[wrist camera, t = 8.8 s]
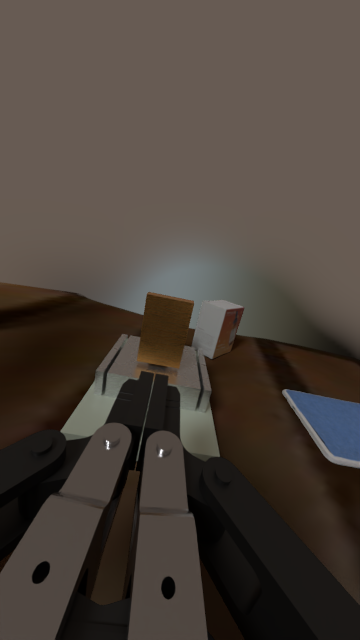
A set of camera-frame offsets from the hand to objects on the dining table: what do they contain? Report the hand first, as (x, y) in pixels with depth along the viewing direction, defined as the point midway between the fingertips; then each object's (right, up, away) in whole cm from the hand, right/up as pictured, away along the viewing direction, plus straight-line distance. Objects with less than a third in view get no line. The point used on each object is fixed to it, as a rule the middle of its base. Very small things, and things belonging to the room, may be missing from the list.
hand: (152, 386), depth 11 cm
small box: (+8, -3, +33) cm, 34 cm away
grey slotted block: (-2, -4, +16) cm, 17 cm away
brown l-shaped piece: (-1, 0, +19) cm, 19 cm away
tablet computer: (+27, -13, +17) cm, 35 cm away
